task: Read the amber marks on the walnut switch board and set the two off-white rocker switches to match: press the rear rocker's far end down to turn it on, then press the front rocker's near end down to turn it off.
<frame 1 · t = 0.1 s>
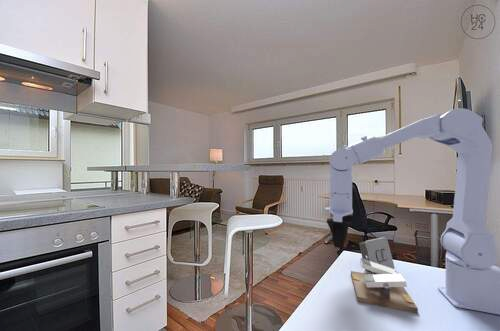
hand: (340, 242, 59), 10 cm above the table, tool pointing down, fingers open, 7 cm apart
switch board: (380, 291, 53), on the table
rear rocker: (377, 268, 56), point 4 cm above the table, hinge at -12.0°
electrical switch: (376, 269, 65), on the table
front rocker: (383, 280, 50), point 4 cm above the table, hinge at 12.0°
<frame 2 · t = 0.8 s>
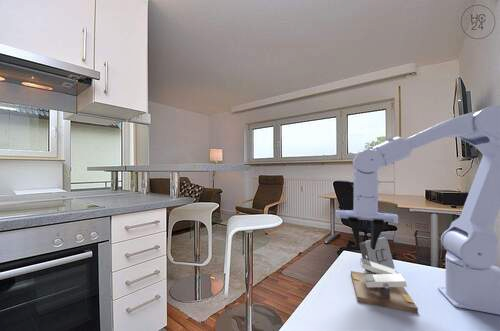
hand: (364, 247, 57), 9 cm above the table, tool pointing down, fingers open, 3 cm apart
nothing on the table moved.
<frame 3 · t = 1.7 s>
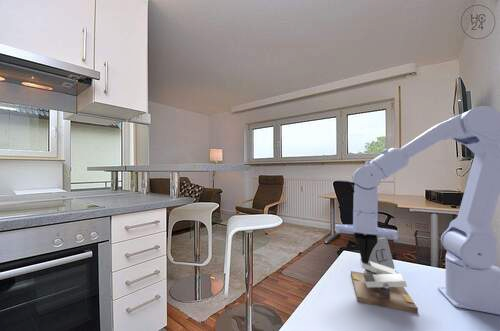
hand: (364, 262, 57), 5 cm above the table, tool pointing down, fingers closed, pressing on rear rocker
rear rocker: (377, 268, 56), point 4 cm above the table, hinge at -12.0°, touching gripper
everything else where it was.
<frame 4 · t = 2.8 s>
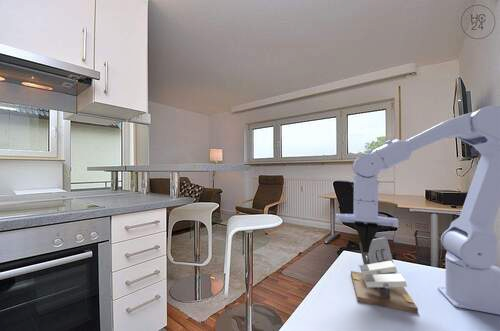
hand: (365, 251, 57), 8 cm above the table, tool pointing down, fingers closed
rear rocker: (377, 268, 56), point 4 cm above the table, hinge at 19.0°
everything else where it was.
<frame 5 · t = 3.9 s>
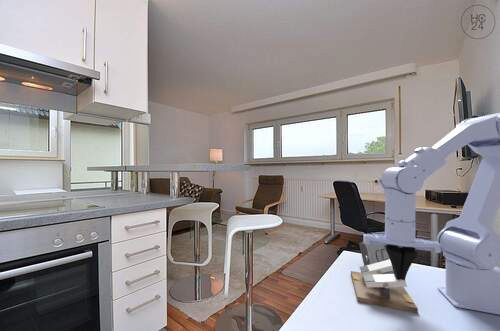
hand: (399, 279, 49), 5 cm above the table, tool pointing down, fingers closed, pressing on front rocker
rear rocker: (377, 268, 56), point 4 cm above the table, hinge at 24.8°
front rocker: (383, 280, 50), point 4 cm above the table, hinge at 12.0°, touching gripper
everything else where it was.
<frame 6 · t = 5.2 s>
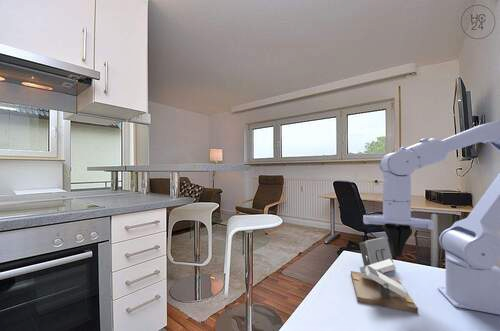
hand: (396, 255, 53), 9 cm above the table, tool pointing down, fingers closed
rear rocker: (377, 268, 56), point 4 cm above the table, hinge at 26.7°
front rocker: (384, 280, 50), point 4 cm above the table, hinge at -25.0°
everything else where it was.
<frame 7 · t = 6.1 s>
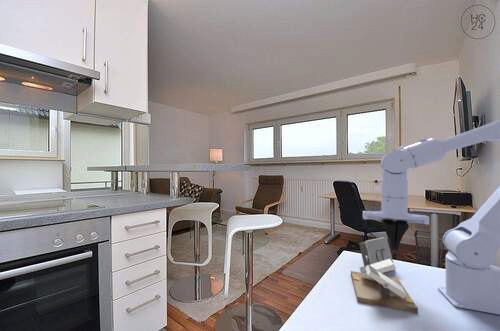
hand: (393, 248, 56), 9 cm above the table, tool pointing down, fingers closed
rear rocker: (377, 268, 56), point 4 cm above the table, hinge at 27.1°
front rocker: (384, 281, 50), point 4 cm above the table, hinge at -29.1°
everything else where it was.
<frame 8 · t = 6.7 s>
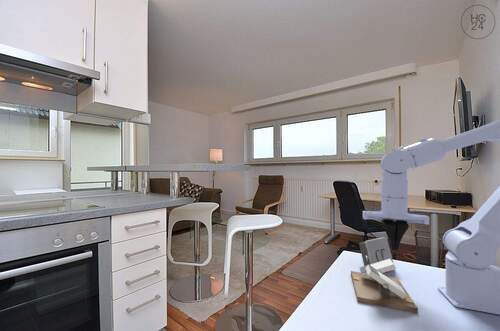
hand: (393, 248, 56), 9 cm above the table, tool pointing down, fingers closed
front rocker: (384, 281, 50), point 4 cm above the table, hinge at -30.3°
everything else where it was.
at the end: rear rocker at +27° (first picture: -12°); front rocker at -30° (first picture: +12°); electrical switch moved 0.3 cm from its start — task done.
